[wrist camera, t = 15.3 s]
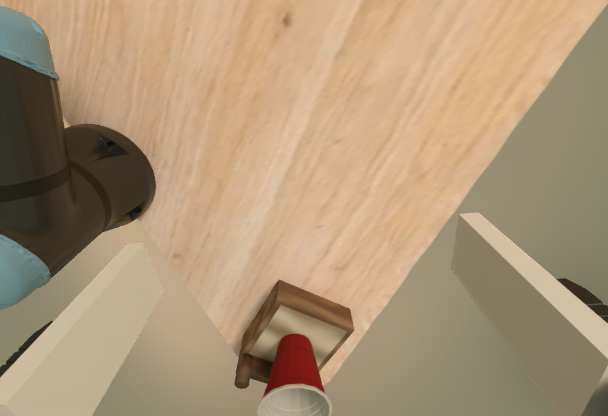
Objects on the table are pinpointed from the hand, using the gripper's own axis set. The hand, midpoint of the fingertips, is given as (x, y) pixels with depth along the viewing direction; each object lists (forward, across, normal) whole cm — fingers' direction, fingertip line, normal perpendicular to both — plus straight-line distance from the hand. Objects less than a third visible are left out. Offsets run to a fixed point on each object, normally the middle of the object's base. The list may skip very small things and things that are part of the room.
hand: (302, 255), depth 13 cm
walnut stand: (+32, -5, -38) cm, 50 cm away
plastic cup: (+27, -5, -38) cm, 46 cm away
